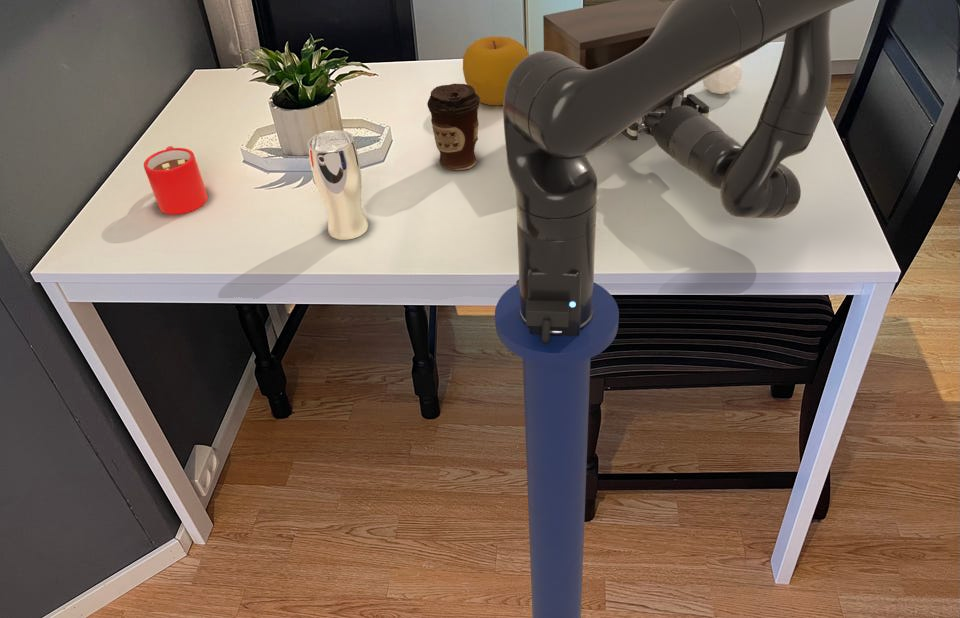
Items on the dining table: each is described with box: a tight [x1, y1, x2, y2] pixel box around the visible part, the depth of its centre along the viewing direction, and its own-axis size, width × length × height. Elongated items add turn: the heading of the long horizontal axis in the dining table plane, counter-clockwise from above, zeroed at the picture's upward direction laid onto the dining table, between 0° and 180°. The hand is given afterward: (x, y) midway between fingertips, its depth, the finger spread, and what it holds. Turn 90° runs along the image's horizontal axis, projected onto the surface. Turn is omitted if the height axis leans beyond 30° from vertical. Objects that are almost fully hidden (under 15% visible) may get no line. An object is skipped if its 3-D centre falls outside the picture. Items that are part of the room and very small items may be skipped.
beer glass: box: [306, 129, 369, 241], centre depth 116 cm, size 7×7×15 cm
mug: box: [143, 145, 209, 216], centre depth 129 cm, size 8×12×8 cm, turn 21°
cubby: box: [542, 0, 685, 109], centre depth 136 cm, size 14×20×19 cm
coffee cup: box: [427, 83, 481, 171], centre depth 131 cm, size 9×8×13 cm
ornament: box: [702, 60, 743, 95], centre depth 147 cm, size 7×7×8 cm
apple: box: [462, 36, 530, 107], centre depth 149 cm, size 13×13×11 cm
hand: (638, 98), depth 130 cm, fingers open, 8 cm apart
